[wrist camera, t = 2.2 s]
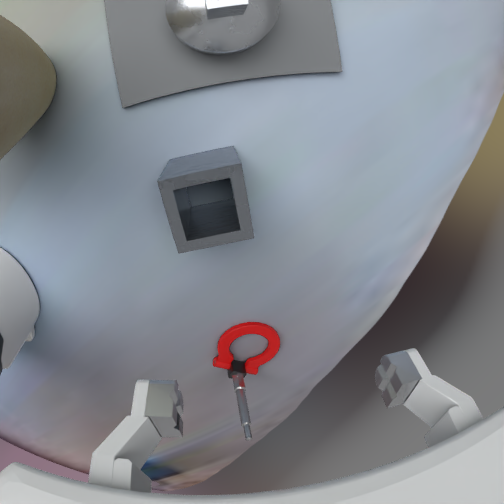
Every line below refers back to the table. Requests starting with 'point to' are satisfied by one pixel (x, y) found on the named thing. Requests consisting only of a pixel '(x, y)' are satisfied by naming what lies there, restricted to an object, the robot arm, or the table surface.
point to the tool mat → (214, 66)
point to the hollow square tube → (208, 215)
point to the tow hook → (240, 369)
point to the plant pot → (22, 84)
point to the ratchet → (221, 23)
